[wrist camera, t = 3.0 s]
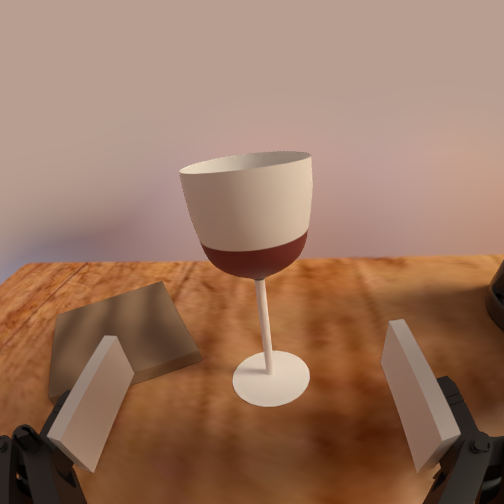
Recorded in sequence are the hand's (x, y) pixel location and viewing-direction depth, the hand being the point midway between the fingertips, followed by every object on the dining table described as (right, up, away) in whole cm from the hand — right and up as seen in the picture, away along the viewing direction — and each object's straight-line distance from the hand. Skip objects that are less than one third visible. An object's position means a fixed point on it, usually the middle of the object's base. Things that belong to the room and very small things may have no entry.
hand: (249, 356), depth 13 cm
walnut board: (-17, -6, +21) cm, 28 cm away
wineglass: (+2, -7, +14) cm, 16 cm away
